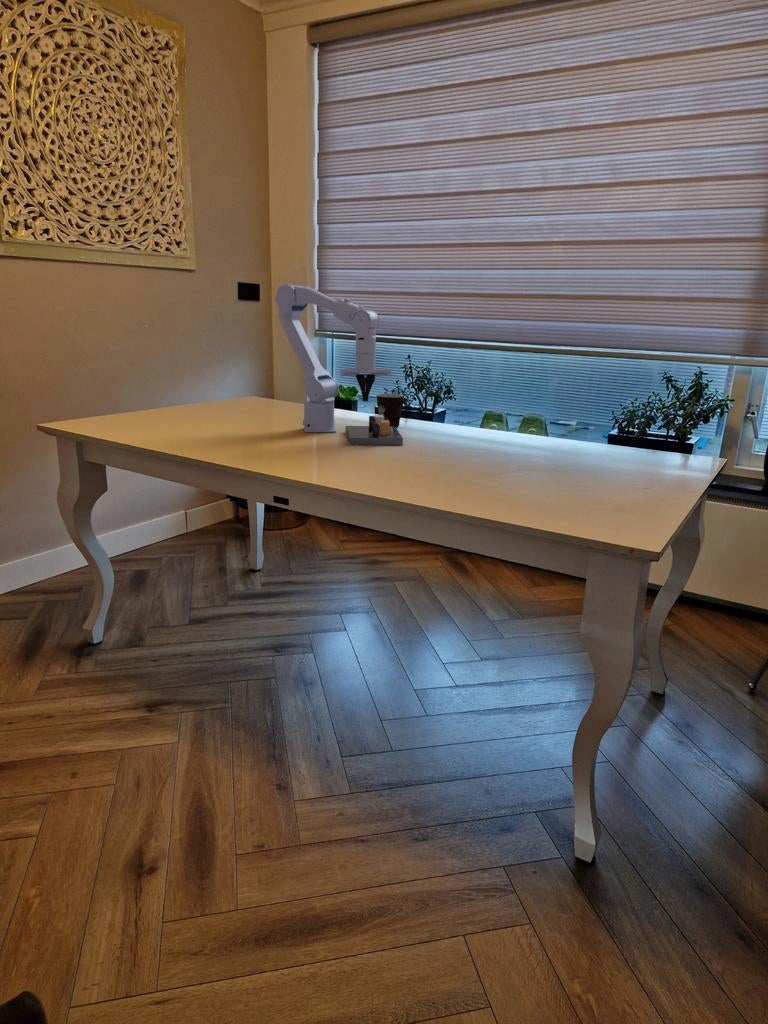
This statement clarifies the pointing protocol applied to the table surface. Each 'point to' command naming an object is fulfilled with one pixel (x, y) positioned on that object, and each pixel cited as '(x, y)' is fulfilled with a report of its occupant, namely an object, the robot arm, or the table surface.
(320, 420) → the robot arm
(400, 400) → the coffee mug
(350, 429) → the panel
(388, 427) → the toggle orange
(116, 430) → the table surface
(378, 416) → the toggle white
